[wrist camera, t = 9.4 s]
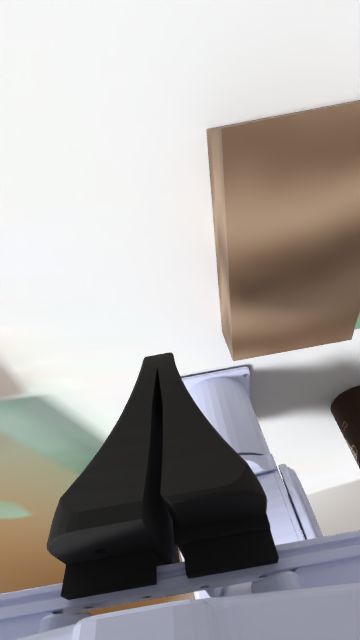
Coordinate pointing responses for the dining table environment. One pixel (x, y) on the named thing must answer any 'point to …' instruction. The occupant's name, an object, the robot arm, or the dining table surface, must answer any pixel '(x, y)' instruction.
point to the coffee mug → (349, 418)
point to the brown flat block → (287, 229)
